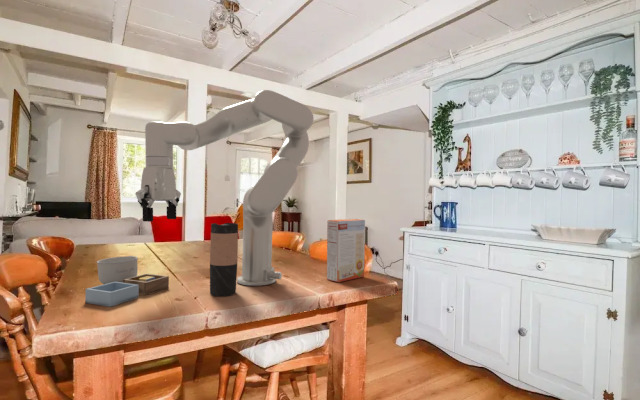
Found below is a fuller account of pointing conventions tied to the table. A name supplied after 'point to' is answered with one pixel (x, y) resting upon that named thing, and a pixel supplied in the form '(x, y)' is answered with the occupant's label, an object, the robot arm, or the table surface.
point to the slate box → (111, 293)
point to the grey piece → (117, 269)
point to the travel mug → (223, 259)
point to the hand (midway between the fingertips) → (160, 220)
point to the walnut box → (149, 283)
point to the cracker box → (345, 249)
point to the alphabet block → (146, 278)
